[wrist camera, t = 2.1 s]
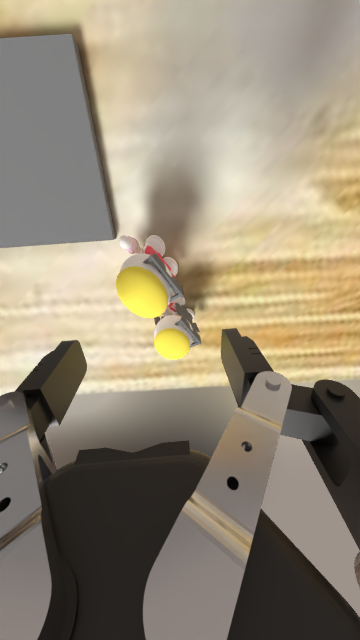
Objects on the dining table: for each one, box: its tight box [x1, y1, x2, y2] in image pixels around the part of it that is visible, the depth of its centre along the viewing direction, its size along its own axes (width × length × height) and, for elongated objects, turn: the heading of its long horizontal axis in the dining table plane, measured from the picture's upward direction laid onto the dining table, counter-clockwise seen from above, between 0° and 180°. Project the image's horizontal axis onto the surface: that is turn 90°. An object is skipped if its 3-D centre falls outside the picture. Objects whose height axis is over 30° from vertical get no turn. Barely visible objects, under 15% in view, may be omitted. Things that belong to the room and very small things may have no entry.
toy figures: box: [116, 235, 201, 360], centre depth 18 cm, size 12×4×8 cm, turn 20°
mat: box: [0, 34, 116, 248], centre depth 16 cm, size 12×12×1 cm
